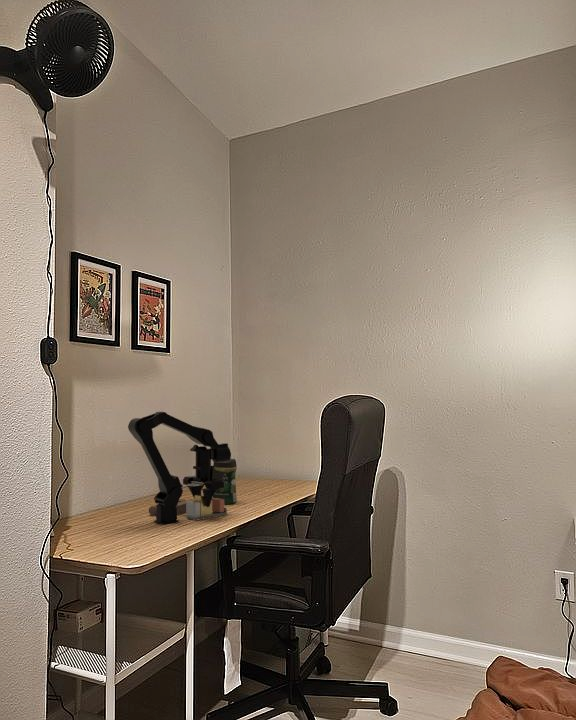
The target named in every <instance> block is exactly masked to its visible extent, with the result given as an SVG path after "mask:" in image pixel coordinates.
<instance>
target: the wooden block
mask: <svg viewBox="0 0 576 720" xmlns="http://www.w3.org/2000/svg"><path fill="white" fill-rule="evenodd" d="M186 501H195V499H184V498H179V501H178V504H177V505H176V507H177V516H180V515H183V514H186V513H185V512H186ZM156 505H158V504H157V503H156V504H153V505H150V507H149V508H148V513H149V515H151V516H156ZM179 514H180V515H179Z"/></svg>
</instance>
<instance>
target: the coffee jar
mask: <svg viewBox="0 0 576 720" xmlns="http://www.w3.org/2000/svg"><path fill="white" fill-rule="evenodd" d="M212 466H214V469H215V470H216V471H219V472H222V473H225V474H224V478H223V481H224V488H219V489H218V490H216V491H215V493H214V495H213V497H212V498H218V499H223V500H224V505H230V504H231V505H233V503H234V504H235V503H236V502H237V501H238V500H237V499H238V497H237V487H236V486H237V485H236V473H237V469H238V466H237V460H236V459H235V458H230V460H229V461H224V462H213V464H212Z"/></svg>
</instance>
